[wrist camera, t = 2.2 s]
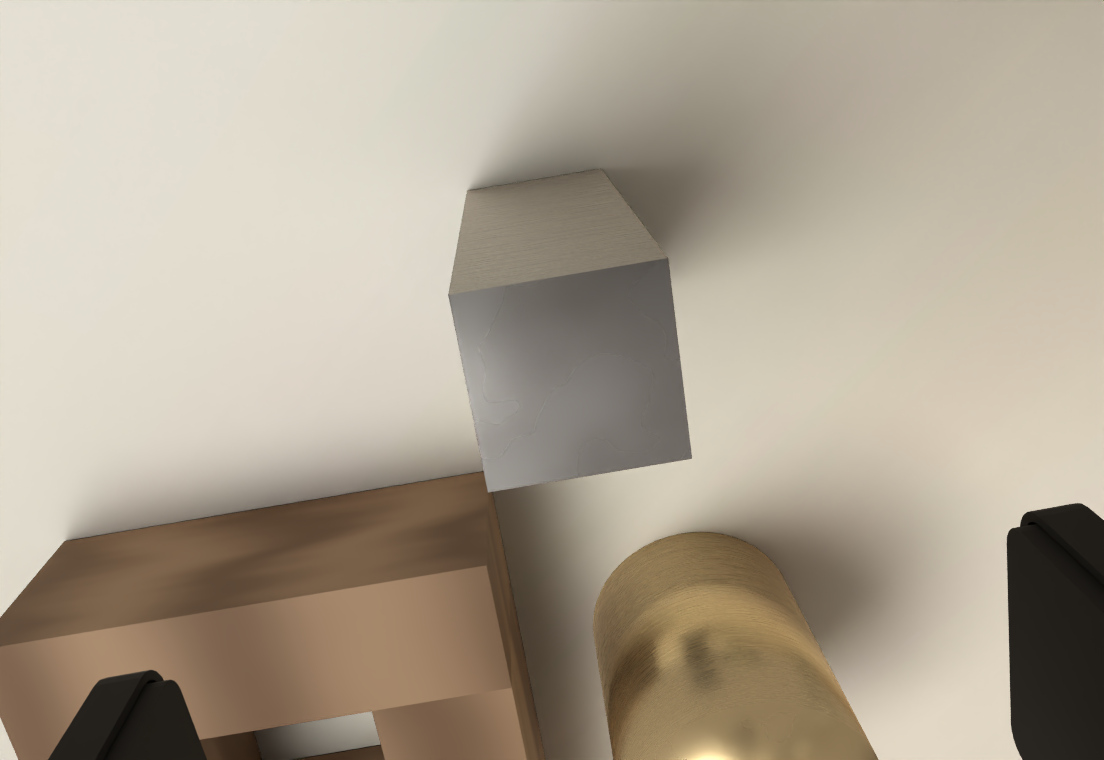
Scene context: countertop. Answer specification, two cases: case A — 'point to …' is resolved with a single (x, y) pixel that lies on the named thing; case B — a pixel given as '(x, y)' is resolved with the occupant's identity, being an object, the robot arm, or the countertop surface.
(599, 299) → the square bit
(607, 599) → the round bit
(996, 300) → the countertop surface
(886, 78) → the countertop surface
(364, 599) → the bore block
